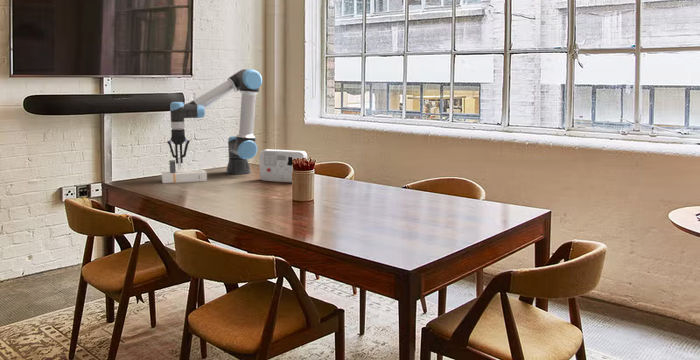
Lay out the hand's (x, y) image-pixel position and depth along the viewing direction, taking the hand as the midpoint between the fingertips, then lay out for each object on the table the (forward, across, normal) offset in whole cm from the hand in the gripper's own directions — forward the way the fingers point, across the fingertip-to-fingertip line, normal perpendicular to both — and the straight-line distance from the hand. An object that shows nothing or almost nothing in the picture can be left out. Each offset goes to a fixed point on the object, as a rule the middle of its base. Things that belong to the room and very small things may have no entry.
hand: (179, 169), depth 389 cm
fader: (+7, +4, 0) cm, 8 cm away
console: (+7, -2, 0) cm, 7 cm away
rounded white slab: (+7, -58, +20) cm, 61 cm away
